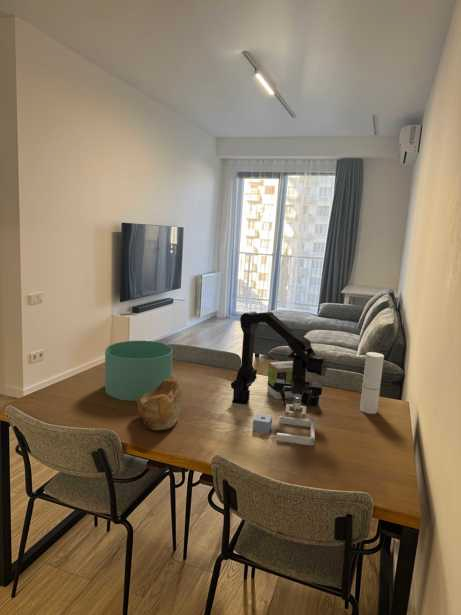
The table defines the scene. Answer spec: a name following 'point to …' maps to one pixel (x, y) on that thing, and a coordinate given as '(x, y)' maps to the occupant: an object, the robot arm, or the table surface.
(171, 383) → the rough brown rock
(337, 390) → the table surface
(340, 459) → the table surface
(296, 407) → the cylinder
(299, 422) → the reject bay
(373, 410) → the cylindrical container
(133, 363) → the container
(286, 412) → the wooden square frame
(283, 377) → the tea box
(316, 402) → the battery
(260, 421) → the block
